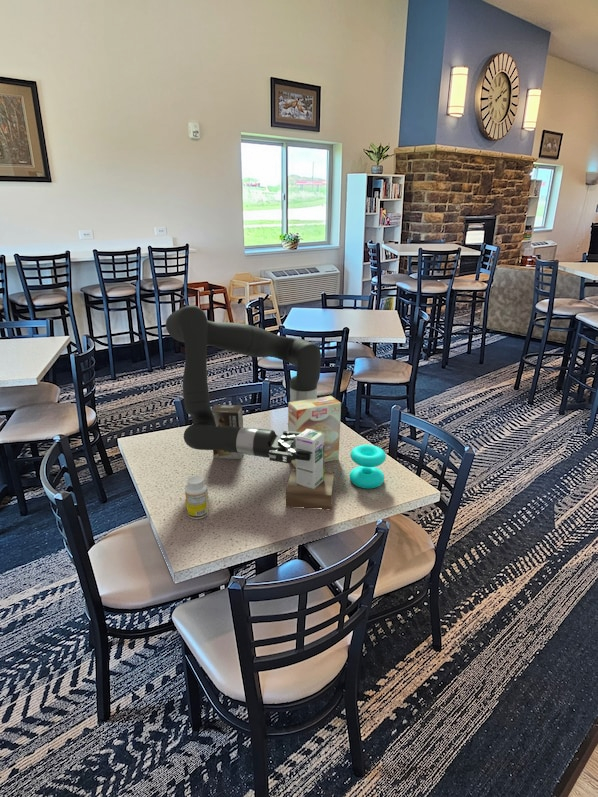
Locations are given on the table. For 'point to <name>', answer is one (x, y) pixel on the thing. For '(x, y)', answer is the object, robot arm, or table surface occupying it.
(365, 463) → the donuts
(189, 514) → the supplement bottle
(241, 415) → the coffee box
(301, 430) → the coffeecake box
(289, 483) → the walnut riser
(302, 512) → the table surface
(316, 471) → the syrup box
